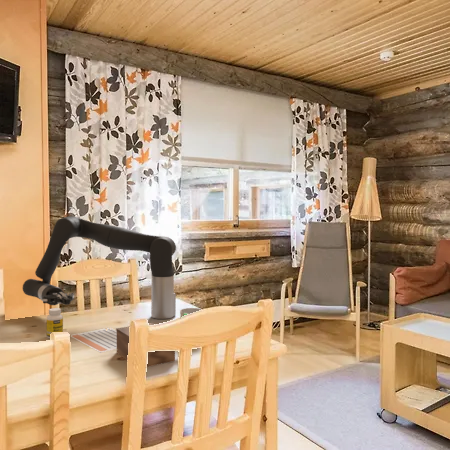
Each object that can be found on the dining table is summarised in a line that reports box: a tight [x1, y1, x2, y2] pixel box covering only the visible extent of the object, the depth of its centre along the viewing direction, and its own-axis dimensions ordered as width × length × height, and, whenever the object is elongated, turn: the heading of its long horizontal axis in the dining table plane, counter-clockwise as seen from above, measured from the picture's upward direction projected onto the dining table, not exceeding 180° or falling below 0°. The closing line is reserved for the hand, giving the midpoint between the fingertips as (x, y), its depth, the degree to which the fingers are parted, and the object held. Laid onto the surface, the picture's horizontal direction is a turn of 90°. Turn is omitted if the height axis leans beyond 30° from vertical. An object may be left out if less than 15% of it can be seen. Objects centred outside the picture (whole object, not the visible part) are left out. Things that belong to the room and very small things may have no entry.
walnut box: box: [115, 322, 176, 368], centre depth 138 cm, size 12×16×8 cm
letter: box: [70, 327, 117, 353], centre depth 155 cm, size 16×24×1 cm, turn 43°
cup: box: [179, 307, 202, 318], centre depth 156 cm, size 8×8×10 cm
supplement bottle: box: [46, 307, 64, 339], centre depth 157 cm, size 5×5×10 cm
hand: (67, 302), depth 171 cm, fingers closed
